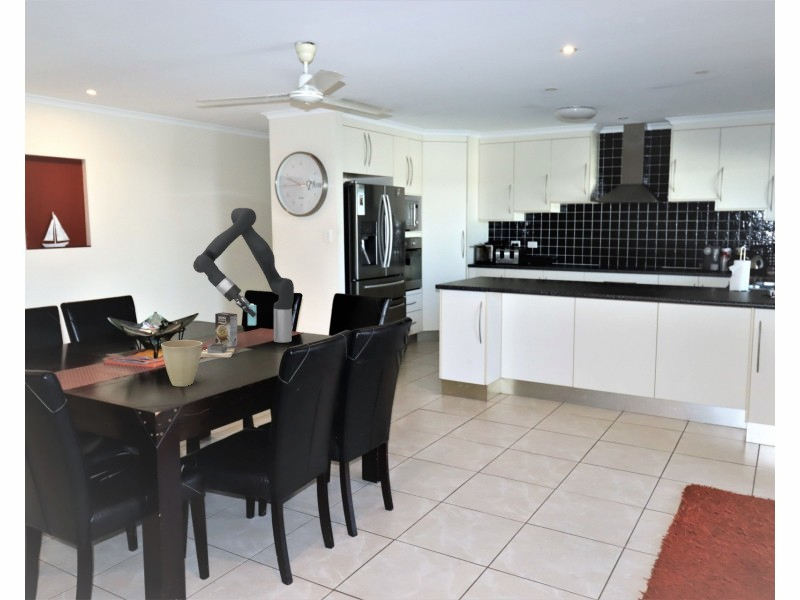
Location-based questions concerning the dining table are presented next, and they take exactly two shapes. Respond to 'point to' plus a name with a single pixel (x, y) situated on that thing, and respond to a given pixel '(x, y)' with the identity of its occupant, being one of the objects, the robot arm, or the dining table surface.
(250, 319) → the teal block
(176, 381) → the plant pot
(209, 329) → the dining table surface
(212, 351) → the board
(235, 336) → the coffee box
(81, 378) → the dining table surface
